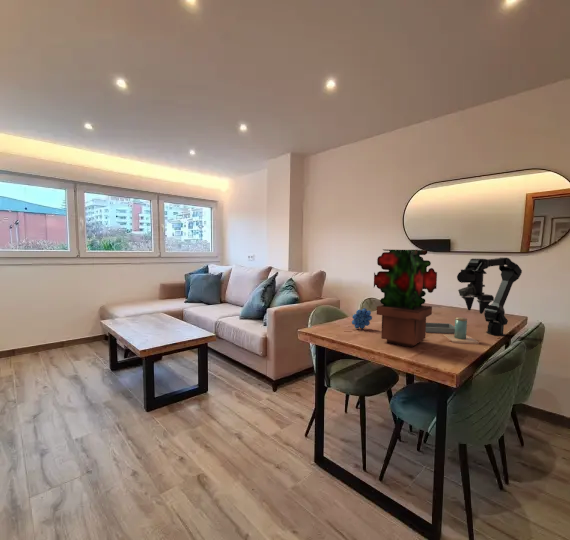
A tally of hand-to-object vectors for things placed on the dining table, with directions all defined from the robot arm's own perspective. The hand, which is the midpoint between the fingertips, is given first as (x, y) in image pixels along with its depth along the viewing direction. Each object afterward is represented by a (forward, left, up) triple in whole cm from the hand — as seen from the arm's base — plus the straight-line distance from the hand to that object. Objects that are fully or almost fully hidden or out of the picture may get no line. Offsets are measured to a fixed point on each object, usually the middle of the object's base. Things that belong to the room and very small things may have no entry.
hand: (474, 311), depth 157 cm
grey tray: (+15, -9, -13) cm, 22 cm away
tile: (+12, +7, -13) cm, 19 cm away
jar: (+12, +7, -12) cm, 18 cm away
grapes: (+56, -15, -13) cm, 59 cm away
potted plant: (+43, +11, -13) cm, 46 cm away
